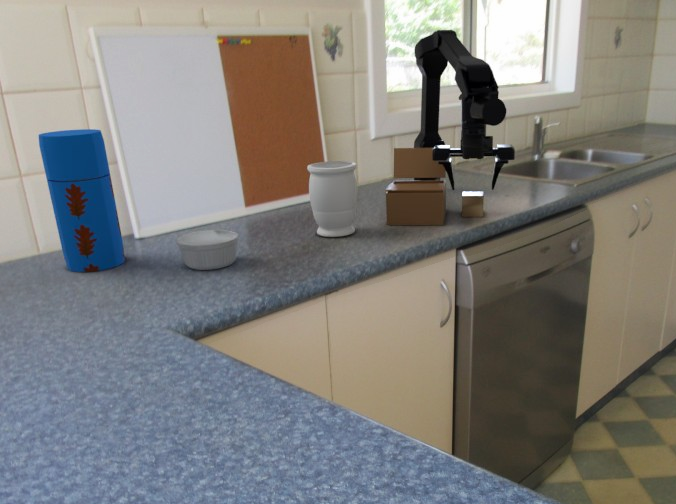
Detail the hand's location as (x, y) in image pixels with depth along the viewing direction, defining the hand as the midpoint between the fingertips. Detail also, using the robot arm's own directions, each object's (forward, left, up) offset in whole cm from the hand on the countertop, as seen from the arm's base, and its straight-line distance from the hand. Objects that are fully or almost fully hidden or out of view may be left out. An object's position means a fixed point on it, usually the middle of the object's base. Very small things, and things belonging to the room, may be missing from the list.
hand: (472, 189), depth 157 cm
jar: (-24, -25, -6) cm, 35 cm away
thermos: (-59, -59, -6) cm, 83 cm away
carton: (-12, -7, -6) cm, 15 cm away
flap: (-14, +2, +6) cm, 15 cm away
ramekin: (-37, -52, -6) cm, 64 cm away
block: (0, 0, -6) cm, 6 cm away
